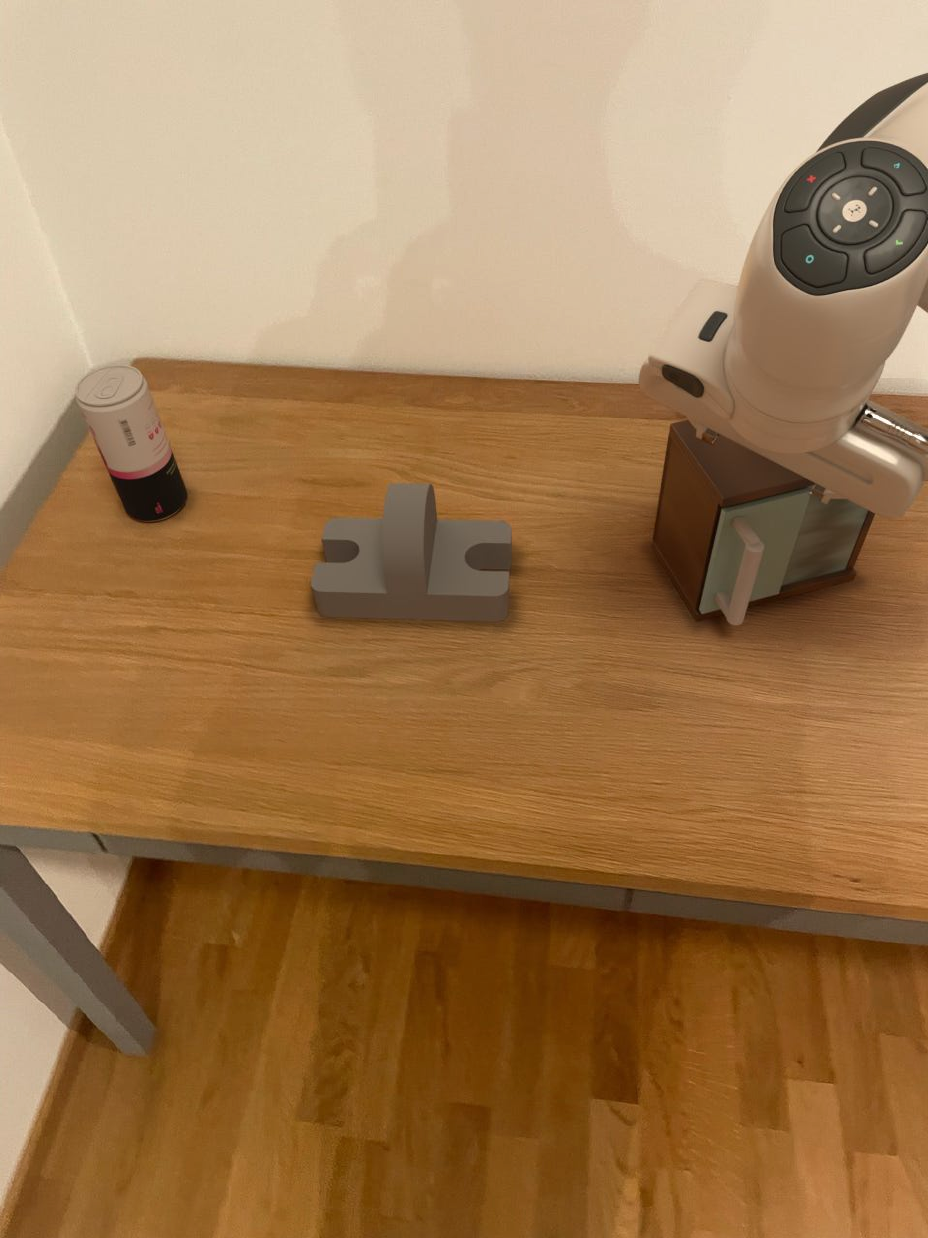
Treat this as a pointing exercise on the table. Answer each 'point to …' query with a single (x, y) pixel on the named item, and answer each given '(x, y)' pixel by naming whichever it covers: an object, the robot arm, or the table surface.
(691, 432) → the cabinet
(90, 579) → the table surface
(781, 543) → the door
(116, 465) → the beverage can
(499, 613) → the bracket
